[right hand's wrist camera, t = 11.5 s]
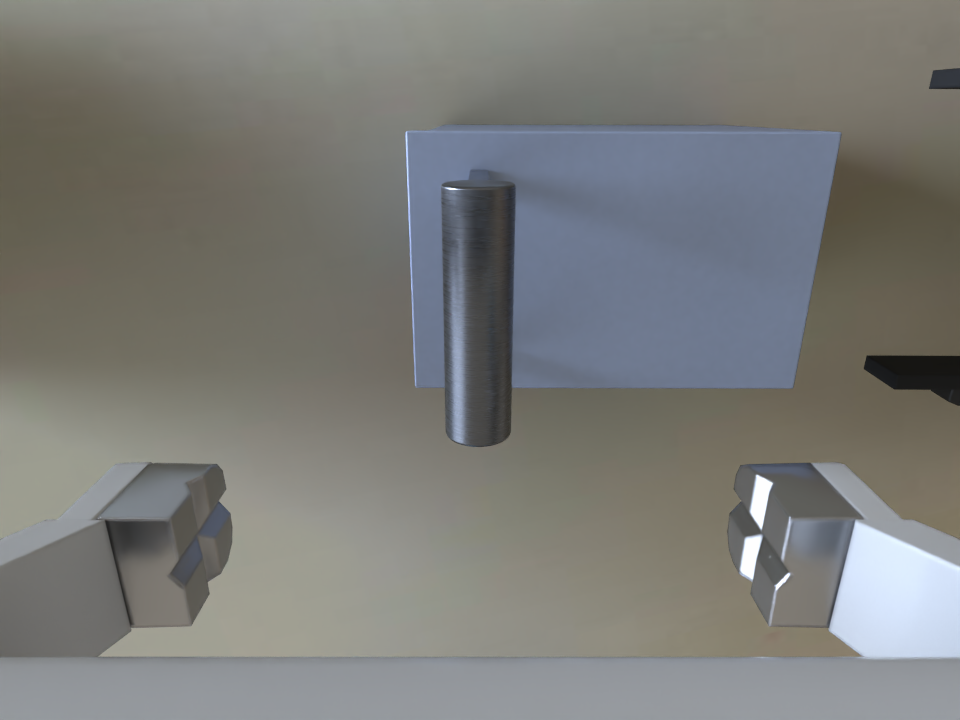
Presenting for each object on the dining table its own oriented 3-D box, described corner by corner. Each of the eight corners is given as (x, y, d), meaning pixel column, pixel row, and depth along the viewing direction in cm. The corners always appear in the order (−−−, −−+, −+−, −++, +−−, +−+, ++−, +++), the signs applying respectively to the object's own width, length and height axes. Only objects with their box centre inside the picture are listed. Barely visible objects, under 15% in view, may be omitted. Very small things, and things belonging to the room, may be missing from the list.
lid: (416, 380, 28) (392, 481, 20) (407, 130, 24) (374, 139, 17) (785, 381, 28) (898, 482, 20) (831, 131, 24) (990, 140, 17)
